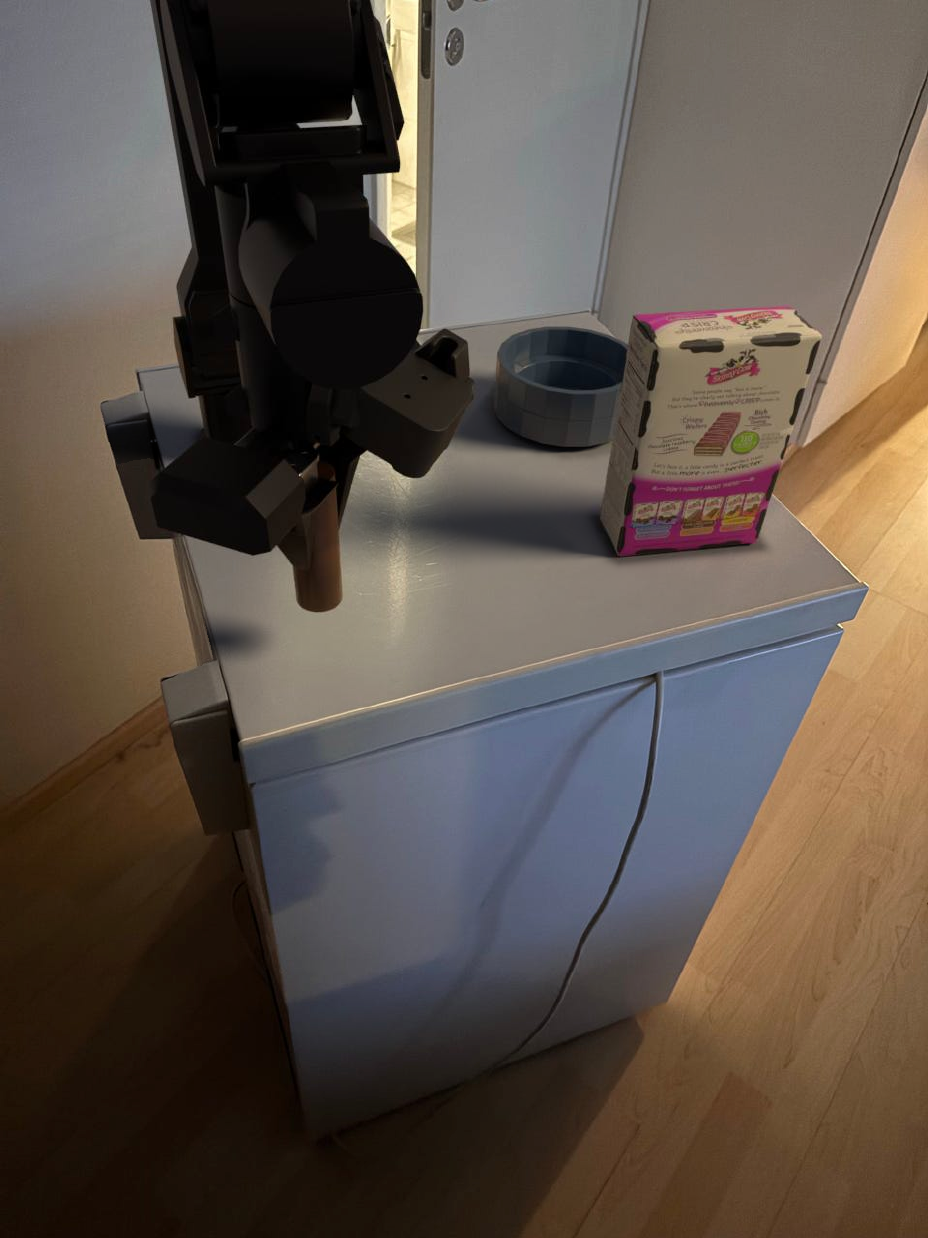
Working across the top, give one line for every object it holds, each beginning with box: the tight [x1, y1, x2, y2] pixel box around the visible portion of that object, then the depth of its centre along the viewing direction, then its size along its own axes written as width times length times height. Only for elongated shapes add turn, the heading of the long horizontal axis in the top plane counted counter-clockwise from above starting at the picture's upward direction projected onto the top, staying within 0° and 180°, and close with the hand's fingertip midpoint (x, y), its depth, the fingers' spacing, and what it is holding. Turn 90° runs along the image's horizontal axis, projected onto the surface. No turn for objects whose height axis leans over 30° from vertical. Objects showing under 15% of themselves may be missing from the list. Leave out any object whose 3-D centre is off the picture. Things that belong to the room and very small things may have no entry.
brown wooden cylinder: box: [292, 460, 344, 613], centre depth 51 cm, size 3×3×9 cm
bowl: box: [492, 326, 628, 448], centre depth 77 cm, size 12×12×6 cm
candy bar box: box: [599, 305, 823, 557], centre depth 61 cm, size 11×5×16 cm, turn 101°
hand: (315, 551), depth 52 cm, fingers closed on brown wooden cylinder, 3 cm apart
